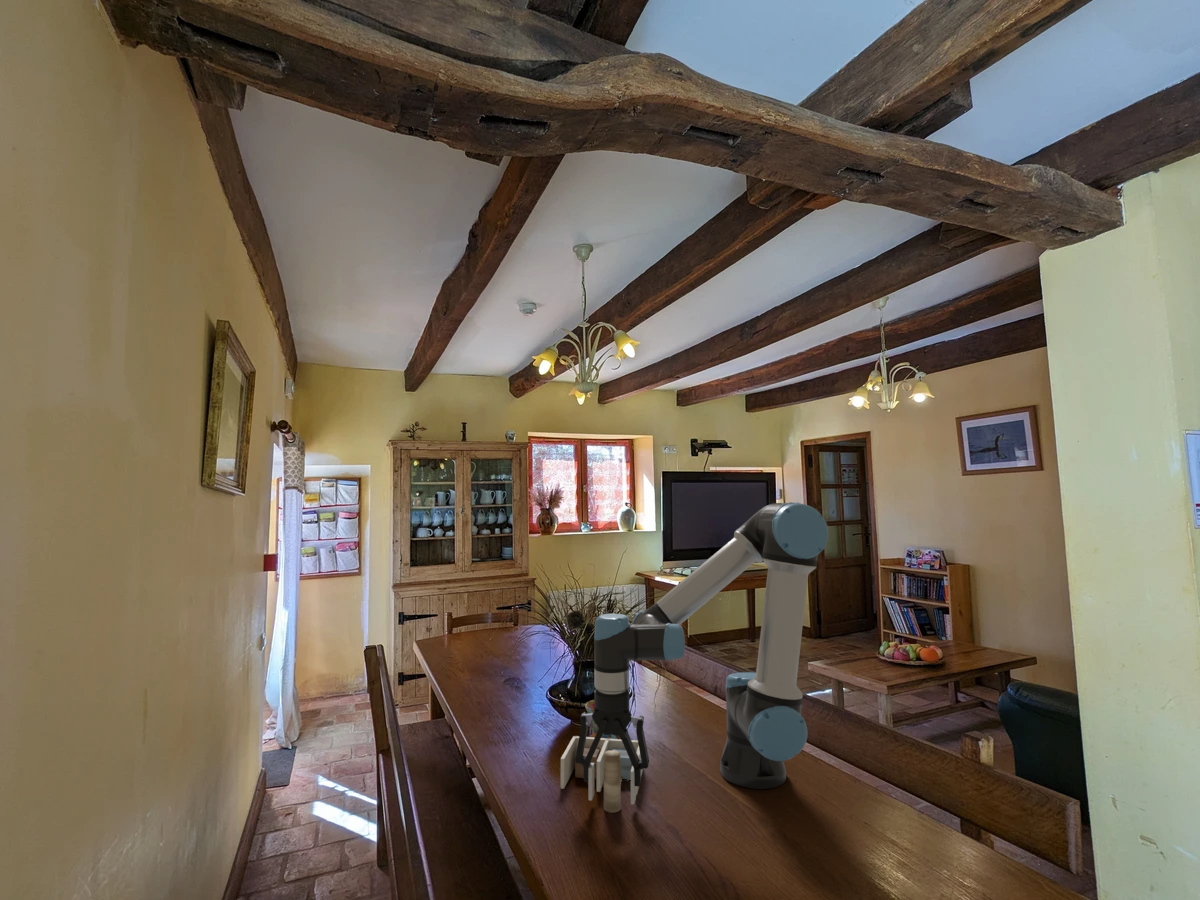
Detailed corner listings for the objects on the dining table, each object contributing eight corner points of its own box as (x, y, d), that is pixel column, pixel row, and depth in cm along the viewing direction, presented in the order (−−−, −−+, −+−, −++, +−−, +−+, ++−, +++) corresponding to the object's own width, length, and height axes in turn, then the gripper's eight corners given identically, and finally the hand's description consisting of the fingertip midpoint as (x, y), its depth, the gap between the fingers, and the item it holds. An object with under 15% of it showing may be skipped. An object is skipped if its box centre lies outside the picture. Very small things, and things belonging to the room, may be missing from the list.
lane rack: (573, 763, 144) (573, 736, 145) (643, 768, 141) (642, 740, 142) (560, 788, 131) (560, 758, 132) (637, 795, 128) (636, 764, 129)
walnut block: (579, 767, 142) (579, 746, 142) (600, 769, 141) (600, 748, 141) (575, 777, 137) (575, 755, 137) (596, 779, 136) (596, 757, 136)
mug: (596, 756, 148) (596, 713, 149) (578, 743, 156) (578, 702, 157) (635, 746, 154) (634, 704, 155) (616, 734, 162) (616, 695, 163)
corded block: (613, 769, 141) (613, 722, 142) (633, 770, 140) (633, 723, 141) (599, 811, 122) (599, 756, 123) (622, 813, 121) (622, 758, 122)
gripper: (662, 685, 127) (663, 794, 125) (568, 680, 131) (567, 786, 129) (659, 697, 119) (660, 813, 117) (560, 691, 123) (559, 803, 121)
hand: (612, 799), depth 123 cm, fingers open, 8 cm apart
